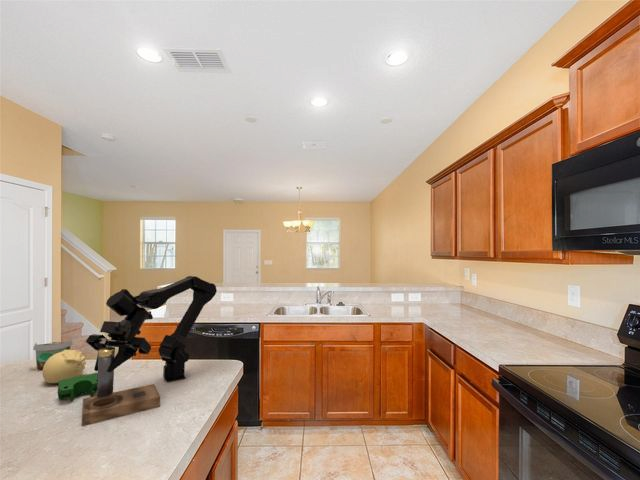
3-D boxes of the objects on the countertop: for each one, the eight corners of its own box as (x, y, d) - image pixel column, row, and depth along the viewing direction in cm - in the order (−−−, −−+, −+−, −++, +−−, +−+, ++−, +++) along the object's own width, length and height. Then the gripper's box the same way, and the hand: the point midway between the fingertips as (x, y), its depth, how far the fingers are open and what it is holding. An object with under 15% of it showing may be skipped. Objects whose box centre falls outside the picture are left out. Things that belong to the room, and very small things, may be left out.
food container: (26, 373, 117) (28, 346, 118) (32, 368, 123) (34, 342, 123) (67, 368, 123) (69, 343, 124) (71, 363, 129) (73, 339, 129)
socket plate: (153, 393, 104) (154, 383, 104) (159, 406, 95) (160, 396, 95) (82, 409, 93) (82, 398, 93) (81, 425, 84) (82, 414, 84)
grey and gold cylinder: (112, 389, 94) (114, 346, 95) (113, 394, 91) (115, 349, 91) (96, 392, 92) (98, 348, 92) (96, 398, 89) (98, 352, 89)
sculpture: (83, 382, 111) (85, 352, 111) (39, 390, 104) (41, 357, 105) (85, 372, 120) (87, 343, 121) (44, 378, 114) (46, 348, 114)
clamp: (66, 415, 97) (53, 395, 93) (64, 404, 101) (51, 384, 98) (109, 391, 104) (99, 371, 100) (106, 381, 108) (95, 362, 105)
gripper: (92, 308, 98) (56, 355, 86) (146, 311, 95) (116, 360, 84) (111, 327, 105) (80, 373, 94) (162, 330, 102) (136, 378, 91)
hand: (102, 371), depth 90 cm, fingers closed on grey and gold cylinder, 4 cm apart
